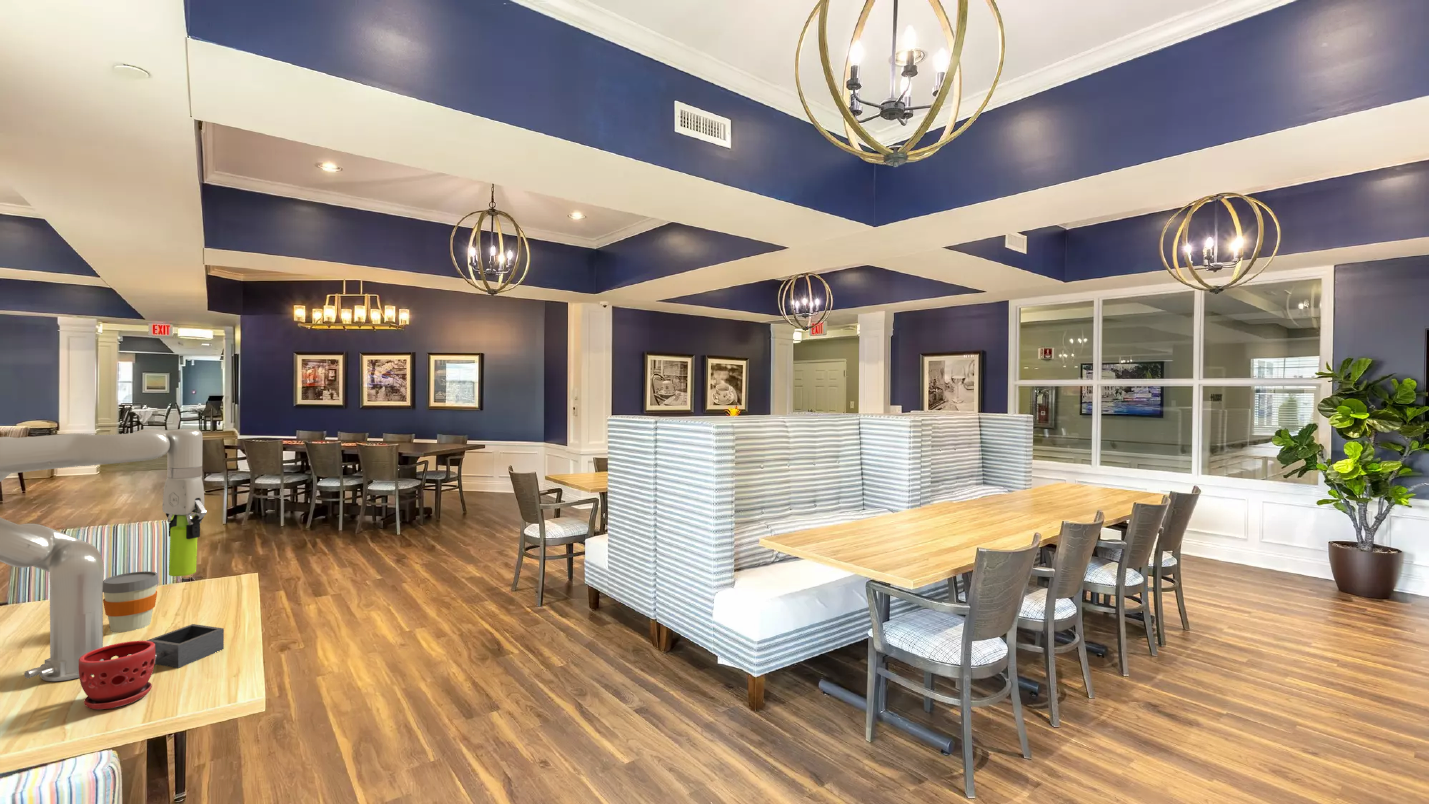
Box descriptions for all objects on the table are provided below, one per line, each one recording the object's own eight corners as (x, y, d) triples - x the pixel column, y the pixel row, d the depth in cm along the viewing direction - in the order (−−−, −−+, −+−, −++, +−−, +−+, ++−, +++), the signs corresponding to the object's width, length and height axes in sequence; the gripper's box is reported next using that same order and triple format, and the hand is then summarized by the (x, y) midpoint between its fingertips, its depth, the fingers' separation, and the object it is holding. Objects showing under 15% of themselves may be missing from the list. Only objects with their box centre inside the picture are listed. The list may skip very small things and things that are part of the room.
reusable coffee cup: (169, 619, 195) (169, 572, 195) (127, 635, 182) (128, 585, 182) (133, 617, 196) (133, 570, 196) (89, 633, 184) (89, 582, 183)
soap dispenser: (186, 577, 173) (188, 506, 172) (162, 575, 173) (165, 504, 172) (204, 571, 178) (207, 502, 178) (182, 569, 179) (185, 500, 178)
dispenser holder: (159, 676, 159) (159, 652, 159) (126, 670, 162) (126, 647, 161) (223, 649, 175) (223, 628, 175) (192, 644, 178) (192, 624, 178)
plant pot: (169, 686, 154) (169, 638, 154) (120, 715, 141) (121, 662, 140) (115, 686, 154) (115, 638, 153) (61, 714, 140) (61, 661, 140)
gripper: (147, 472, 174) (147, 537, 174) (192, 477, 169) (192, 543, 170) (177, 469, 181) (177, 531, 182) (221, 473, 176) (220, 536, 177)
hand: (184, 536), depth 176 cm, fingers closed on soap dispenser, 6 cm apart
